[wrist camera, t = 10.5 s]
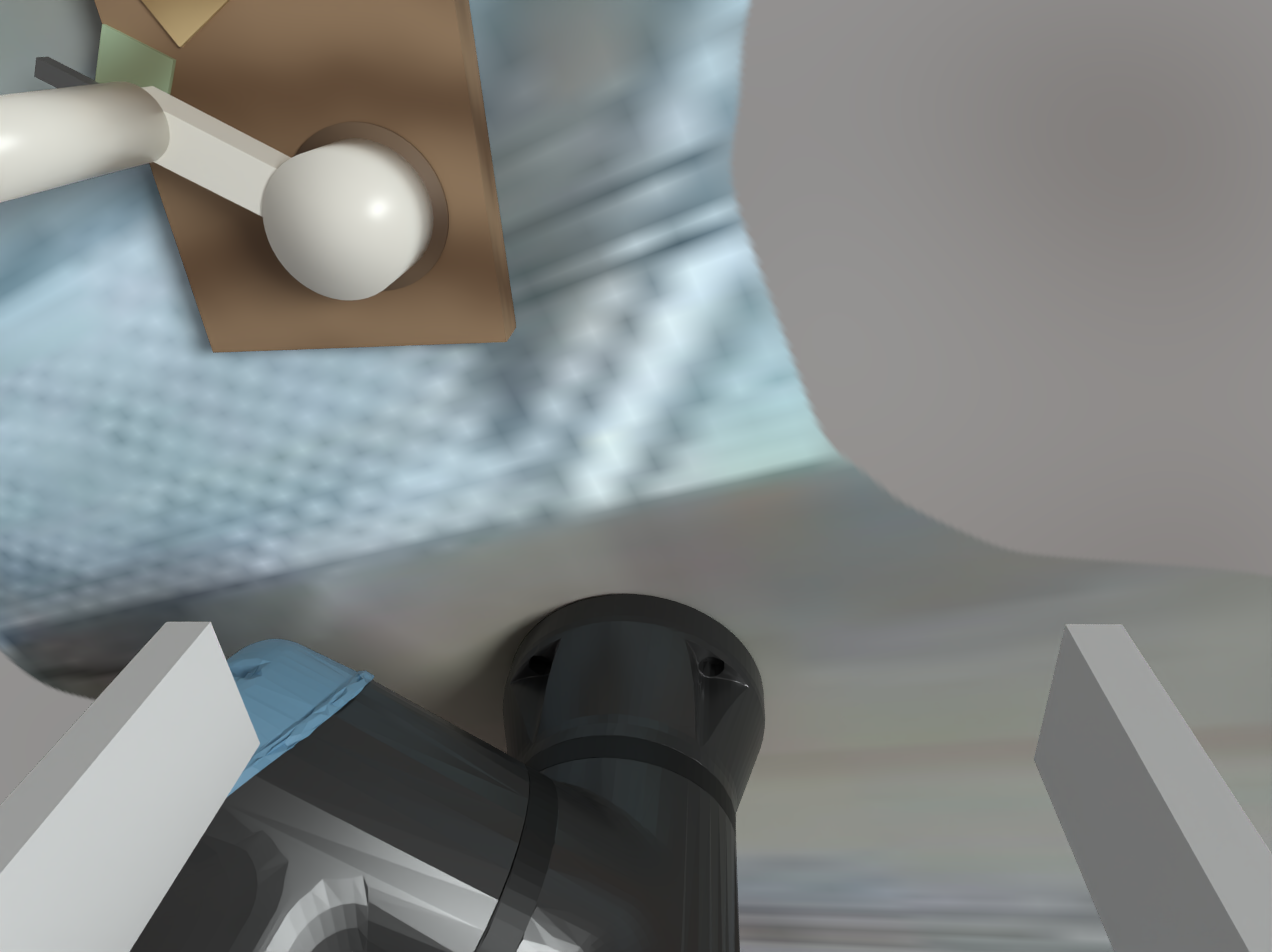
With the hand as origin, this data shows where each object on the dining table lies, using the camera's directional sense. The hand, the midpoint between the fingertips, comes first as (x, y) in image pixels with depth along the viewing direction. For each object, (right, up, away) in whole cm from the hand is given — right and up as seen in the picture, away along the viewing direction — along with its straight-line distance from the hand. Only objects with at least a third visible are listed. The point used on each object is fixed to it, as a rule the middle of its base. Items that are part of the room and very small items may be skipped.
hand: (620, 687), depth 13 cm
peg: (-15, +16, +21) cm, 30 cm away
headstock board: (-13, +19, +21) cm, 31 cm away
